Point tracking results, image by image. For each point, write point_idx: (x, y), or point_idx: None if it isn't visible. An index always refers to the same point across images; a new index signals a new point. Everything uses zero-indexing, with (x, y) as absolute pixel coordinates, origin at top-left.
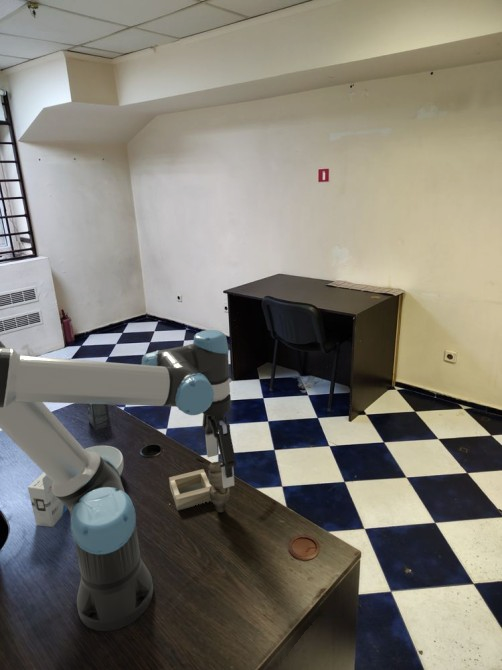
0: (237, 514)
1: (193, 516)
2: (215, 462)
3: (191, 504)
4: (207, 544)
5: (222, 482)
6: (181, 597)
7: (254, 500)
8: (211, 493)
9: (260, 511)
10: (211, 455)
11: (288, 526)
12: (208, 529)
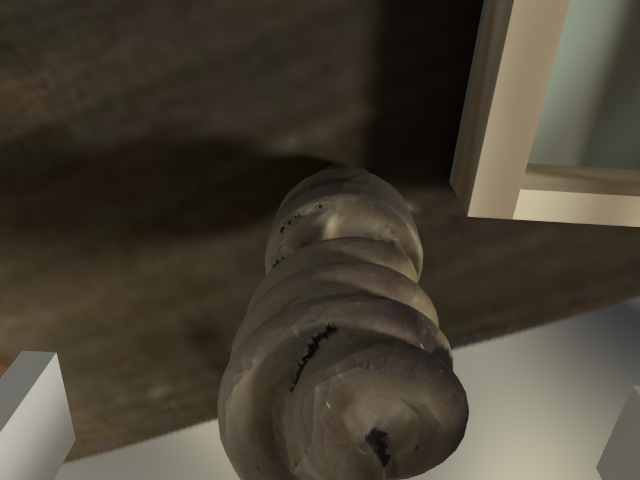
0: None
1: (381, 14)
2: (443, 437)
3: (482, 36)
4: (107, 18)
5: (28, 390)
6: None
7: None
8: (322, 200)
9: None
10: (626, 429)
11: (118, 399)
12: (228, 67)
